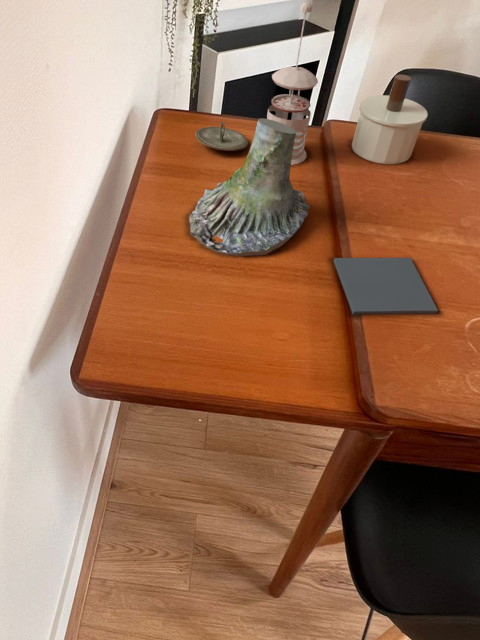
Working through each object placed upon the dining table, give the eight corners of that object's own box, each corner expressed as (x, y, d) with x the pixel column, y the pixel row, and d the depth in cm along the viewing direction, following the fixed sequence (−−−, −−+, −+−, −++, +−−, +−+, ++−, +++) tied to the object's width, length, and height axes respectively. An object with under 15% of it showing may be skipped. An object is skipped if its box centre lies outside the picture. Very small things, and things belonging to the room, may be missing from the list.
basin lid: (412, 102, 105) (425, 65, 100) (435, 130, 97) (449, 92, 92) (351, 100, 104) (360, 63, 99) (368, 130, 96) (379, 90, 91)
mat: (408, 261, 82) (410, 257, 81) (436, 314, 74) (438, 310, 73) (333, 262, 81) (334, 257, 80) (352, 315, 73) (353, 311, 72)
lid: (186, 155, 104) (185, 134, 99) (209, 124, 108) (208, 102, 103) (235, 171, 101) (236, 150, 97) (256, 139, 105) (258, 117, 101)
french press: (253, 162, 100) (272, 7, 81) (263, 135, 108) (282, -13, 89) (304, 170, 99) (336, 14, 80) (310, 142, 107) (340, -6, 88)
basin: (399, 137, 110) (412, 99, 104) (418, 165, 102) (432, 126, 96) (345, 136, 109) (354, 98, 103) (359, 164, 101) (371, 125, 96)
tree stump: (162, 217, 88) (181, 100, 77) (248, 209, 99) (276, 106, 88) (231, 270, 77) (265, 144, 67) (319, 254, 89) (360, 145, 78)
